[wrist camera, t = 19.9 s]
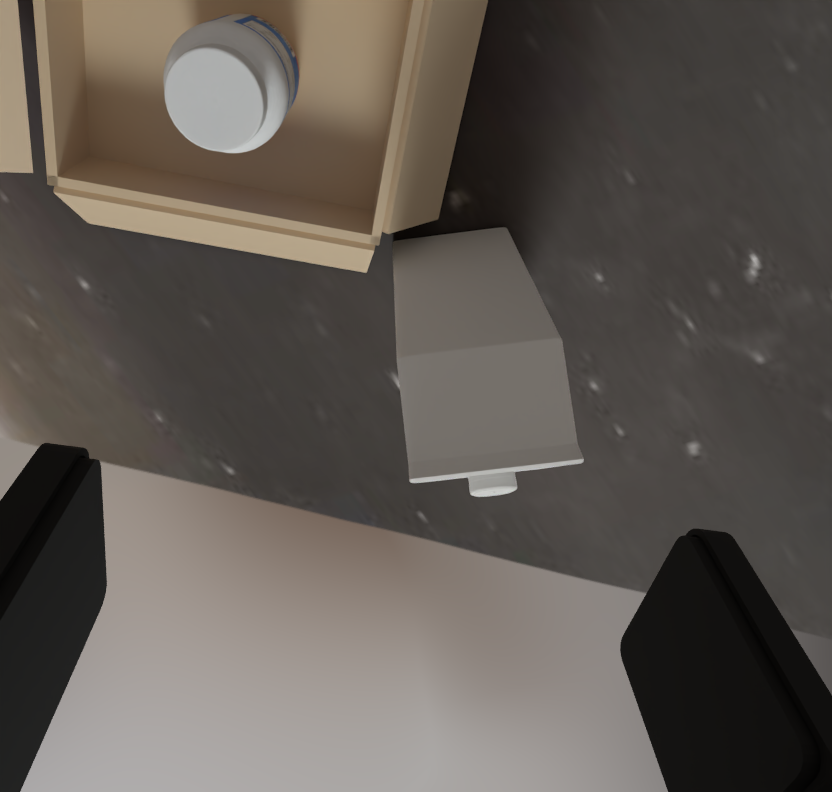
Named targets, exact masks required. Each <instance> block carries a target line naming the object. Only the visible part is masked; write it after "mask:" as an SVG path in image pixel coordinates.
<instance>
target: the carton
mask: <svg viewBox="0 0 832 792" xmlns="http://www.w3.org/2000/svg"><path fill="white" fill-rule="evenodd" d="M487 3H488V0H33V8H34V20H35V33H36V45H37V58H38V70H39V82H40V95H41V107H42V120H43V132H44V145H45V157H46V169H47V182H48V185H52V186H54V191H53V192H54V193H55V194H56V195H57V196H58V197H59V198H60V199H62V200H63V201H64V202H65V203H66V204H67V205H68V206H69V207H71V208H72V209H73V210H74V211H75V212H76V213H77V214H78V215H80V216H81V217H82V218H83V219H84V220H85V221H86V222H87V223H89V224H95V225H100V226H106V227H112V228H117V229H123V230H129V231H134V232H140V233H145V234H151V235H157V236H162V237H168V238H173V239H179V240H185V241H190V242H196V243H202V244H207V245H213V246H218V247H224V248H230V249H235V250H241V251H246V252H252V253H258V254H263V255H269V256H274V257H280V258H286V259H291V260H297V261H303V262H308V263H314V264H319V265H325V266H331V267H336V268H342V269H347V270H353V271H359V272H364V273H367V270H368V267H369V264H370V262H371V259H372V256H373V253H374V250H375V245H378V246H379V244H380V238H381V233H382V232H384V233H387V234H390V233H394V232H397V231H400V230H404V229H407V228H411V227H414V226H417V225H421V224H424V223H428V222H431V221H434V220H438V218H439V214H440V210H441V205H442V201H443V196H444V192H445V188H446V183H447V179H448V174H449V170H450V166H451V161H452V157H453V153H454V148H455V144H456V139H457V135H458V131H459V126H460V122H461V117H462V113H463V109H464V104H465V100H466V96H467V91H468V87H469V82H470V78H471V74H472V69H473V65H474V60H475V56H476V52H477V47H478V43H479V39H480V34H481V30H482V25H483V21H484V17H485V12H486V8H487ZM239 13H241V14H251V15H255V16H258V17H260V18H263V19H265V20H266V21H268V22H270V23H271V24H273V25H274V26H275V27H277V28H278V29H279V30H280V31H281V32H282V33H283V34H284V36H285V37H286V38H287V40H288V41H289V43H290V44H291V46H292V48H293V50H294V52H295V55H296V58H297V61H298V66H299V87H298V92H297V95H296V98H295V100H294V103H293V104H292V106H291V108H290V109H289V111H288V113H287V115H286V117H285V119H284V120H283V122H282V124H281V126H280V127H279V129H278V130H277V131H276V133H275V134H274V135H273V136H272V137H271V138H270V139H269V140H268V141H267V142H266V143H264V144H263V145H261V146H260V147H258V148H256V149H254V150H251V151H247V152H242V153H225V152H219V151H212V150H208V149H205V148H202V147H200V146H197V145H196V144H194V143H193V142H191V141H190V140H188V139H187V138H186V137H185V136H184V135H183V134H182V133H181V132H180V131H179V130H178V128H177V127H176V126H175V124H174V123H173V121H172V119H171V117H170V115H169V113H168V110H167V107H166V103H165V96H164V81H163V75H164V67H165V62H166V59H167V56H168V53H169V51H170V49H171V48H172V46H173V44H174V43H175V42H176V40H177V39H178V38H179V37H180V36H181V35H182V34H183V33H185V32H186V31H187V30H189V29H190V28H192V27H194V26H196V25H198V24H201V23H204V22H208V21H211V20H214V19H217V18H220V17H223V16H226V15H231V14H239Z"/></svg>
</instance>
